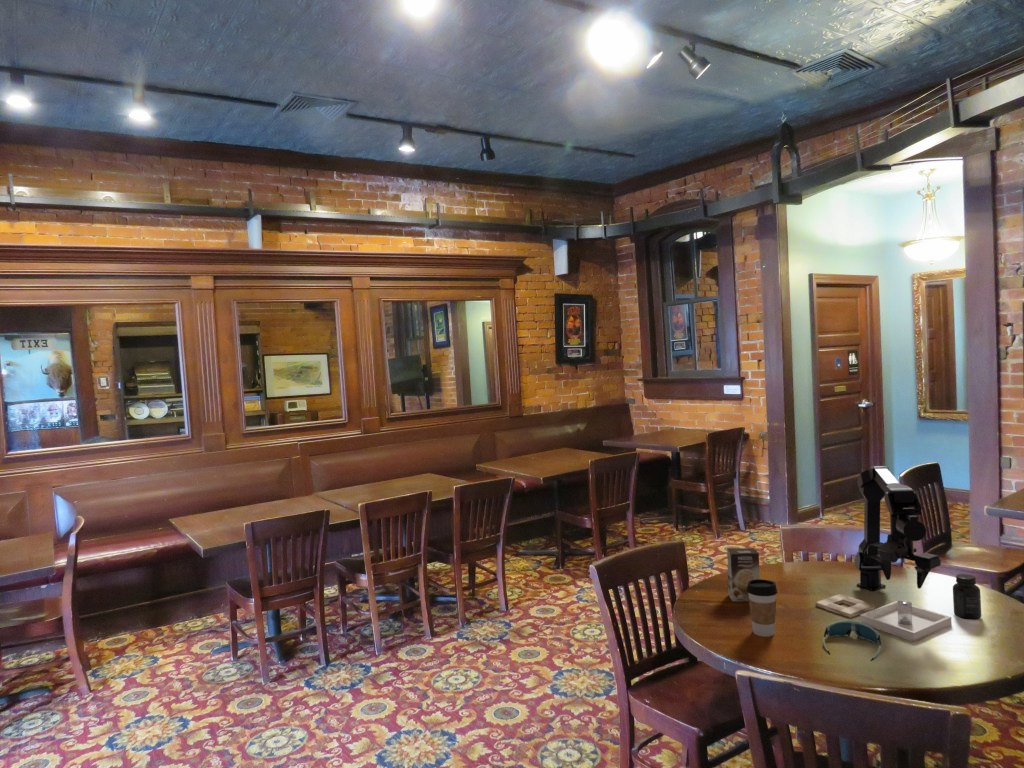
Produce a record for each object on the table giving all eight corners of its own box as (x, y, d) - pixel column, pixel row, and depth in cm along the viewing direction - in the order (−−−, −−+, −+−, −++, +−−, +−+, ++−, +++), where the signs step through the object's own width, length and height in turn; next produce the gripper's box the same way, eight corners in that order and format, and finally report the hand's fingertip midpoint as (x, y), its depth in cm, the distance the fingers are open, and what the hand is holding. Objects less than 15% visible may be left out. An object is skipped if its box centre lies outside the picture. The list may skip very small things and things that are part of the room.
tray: (897, 608, 210) (897, 600, 210) (951, 625, 196) (951, 617, 196) (860, 623, 202) (860, 614, 202) (914, 641, 188) (913, 632, 188)
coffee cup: (764, 641, 194) (762, 589, 193) (742, 631, 201) (740, 581, 201) (785, 633, 198) (783, 583, 197) (762, 624, 205) (760, 575, 204)
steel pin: (902, 619, 202) (902, 599, 201) (914, 623, 198) (914, 602, 198) (895, 622, 200) (894, 602, 199) (907, 626, 197) (906, 605, 196)
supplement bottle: (983, 615, 202) (982, 575, 202) (979, 622, 197) (978, 581, 197) (956, 610, 207) (954, 571, 206) (951, 617, 202) (950, 577, 201)
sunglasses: (882, 640, 191) (881, 623, 190) (880, 670, 178) (879, 653, 177) (826, 632, 198) (825, 616, 197) (821, 660, 185) (820, 643, 184)
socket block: (840, 597, 222) (840, 593, 222) (875, 608, 212) (874, 604, 211) (815, 606, 216) (815, 602, 216) (850, 617, 206) (850, 614, 206)
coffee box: (732, 602, 224) (730, 553, 223) (728, 595, 230) (725, 548, 229) (761, 601, 223) (759, 553, 222) (756, 594, 229) (754, 547, 228)
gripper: (854, 529, 202) (856, 581, 203) (917, 543, 186) (919, 599, 187) (877, 522, 208) (879, 573, 208) (940, 535, 191) (942, 590, 192)
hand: (903, 583), depth 199 cm, fingers open, 9 cm apart
